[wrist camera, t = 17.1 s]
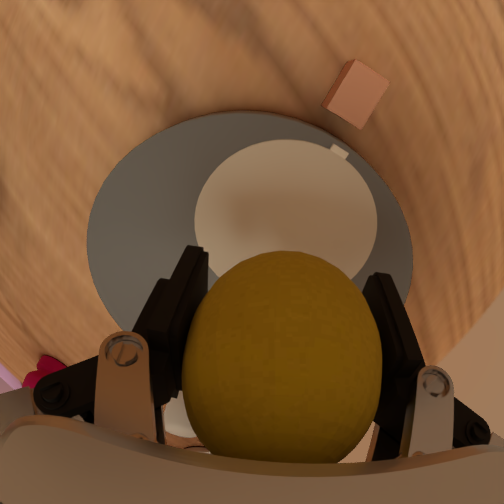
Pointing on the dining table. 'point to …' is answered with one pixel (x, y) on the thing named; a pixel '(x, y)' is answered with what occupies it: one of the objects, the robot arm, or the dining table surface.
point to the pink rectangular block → (355, 93)
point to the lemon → (282, 362)
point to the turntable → (239, 210)
